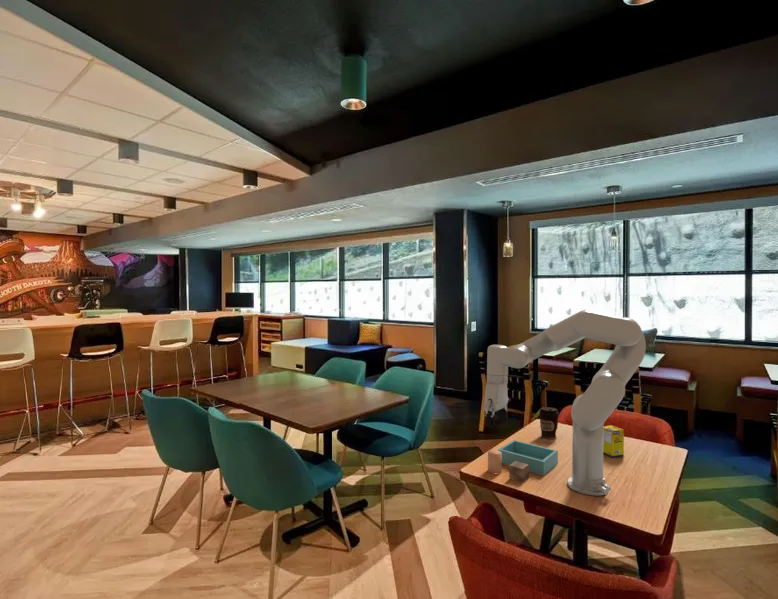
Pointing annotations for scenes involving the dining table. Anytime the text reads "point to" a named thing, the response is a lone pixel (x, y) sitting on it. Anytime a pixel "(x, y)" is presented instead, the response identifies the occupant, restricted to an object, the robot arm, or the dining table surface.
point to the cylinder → (494, 461)
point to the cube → (519, 471)
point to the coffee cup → (548, 422)
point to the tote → (530, 456)
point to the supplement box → (613, 441)
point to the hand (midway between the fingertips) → (496, 424)
